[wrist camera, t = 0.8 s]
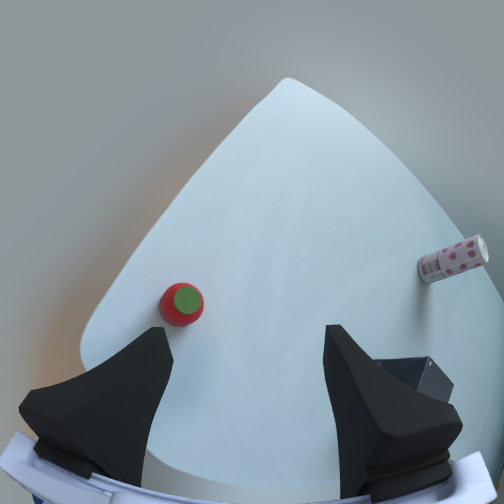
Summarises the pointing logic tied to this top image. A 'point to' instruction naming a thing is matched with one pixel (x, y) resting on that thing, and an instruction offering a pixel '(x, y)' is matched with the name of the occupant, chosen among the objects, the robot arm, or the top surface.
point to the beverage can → (453, 260)
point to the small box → (420, 375)
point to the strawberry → (181, 304)
